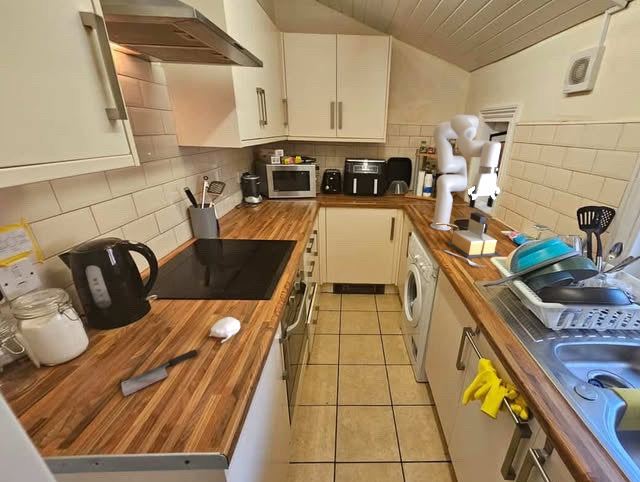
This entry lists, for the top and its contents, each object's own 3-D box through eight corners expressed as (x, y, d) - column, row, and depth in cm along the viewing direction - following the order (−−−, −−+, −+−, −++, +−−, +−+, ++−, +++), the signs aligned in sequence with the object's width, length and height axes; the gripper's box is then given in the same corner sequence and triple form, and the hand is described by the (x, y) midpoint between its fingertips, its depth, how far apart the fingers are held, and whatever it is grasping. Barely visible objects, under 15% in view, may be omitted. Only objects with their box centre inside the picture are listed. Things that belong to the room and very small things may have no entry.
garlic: (221, 344, 82) (219, 333, 80) (205, 336, 85) (203, 325, 83) (244, 329, 88) (243, 318, 87) (229, 321, 91) (227, 311, 90)
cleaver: (122, 395, 65) (119, 381, 68) (124, 398, 65) (121, 385, 69) (201, 358, 75) (195, 348, 78) (202, 361, 75) (195, 351, 79)
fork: (446, 249, 150) (446, 246, 149) (486, 269, 131) (487, 265, 130) (441, 250, 149) (442, 247, 148) (481, 270, 129) (482, 266, 129)
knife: (465, 230, 154) (468, 211, 150) (470, 230, 155) (473, 211, 151) (479, 238, 143) (483, 218, 139) (484, 238, 144) (488, 218, 140)
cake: (446, 243, 159) (448, 229, 156) (475, 241, 163) (478, 228, 160) (467, 258, 141) (469, 243, 138) (500, 255, 145) (503, 241, 142)
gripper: (498, 169, 142) (491, 204, 149) (465, 169, 138) (460, 205, 145) (509, 171, 136) (501, 208, 142) (475, 171, 131) (469, 209, 138)
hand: (480, 207), depth 143 cm, fingers open, 9 cm apart
